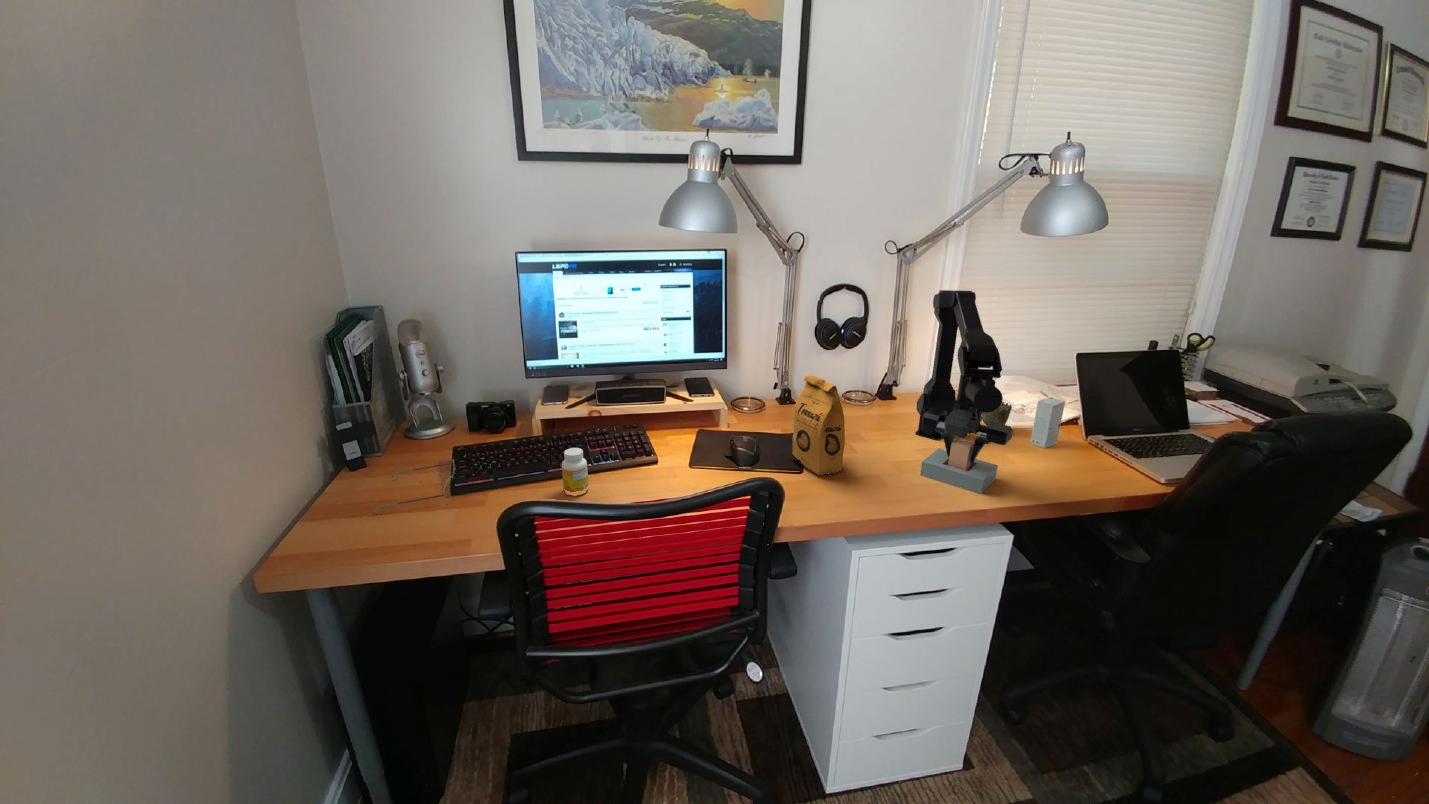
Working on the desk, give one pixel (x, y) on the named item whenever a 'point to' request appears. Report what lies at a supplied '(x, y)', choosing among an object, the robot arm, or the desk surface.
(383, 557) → the desk surface
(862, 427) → the desk surface
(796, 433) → the coffee package
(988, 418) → the cup
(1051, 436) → the skincare box
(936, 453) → the socket block
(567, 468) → the supplement bottle
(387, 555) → the desk surface
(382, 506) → the eyeglasses
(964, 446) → the terracotta peg
